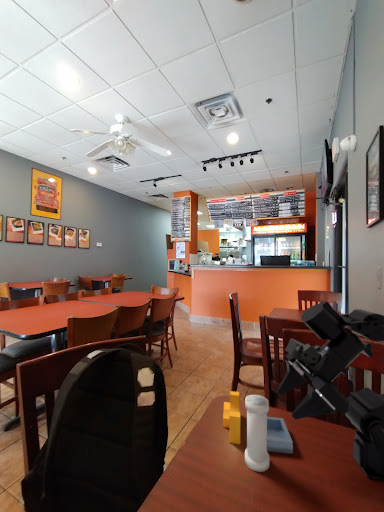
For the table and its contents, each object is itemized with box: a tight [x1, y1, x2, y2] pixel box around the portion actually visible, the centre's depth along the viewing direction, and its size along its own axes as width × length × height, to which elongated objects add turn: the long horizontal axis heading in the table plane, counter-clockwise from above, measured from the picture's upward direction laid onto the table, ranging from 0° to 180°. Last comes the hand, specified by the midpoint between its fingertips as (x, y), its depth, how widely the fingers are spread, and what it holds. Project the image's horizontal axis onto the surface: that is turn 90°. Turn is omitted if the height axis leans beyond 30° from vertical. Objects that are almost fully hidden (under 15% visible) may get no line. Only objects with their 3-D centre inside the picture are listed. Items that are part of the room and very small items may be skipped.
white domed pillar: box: [244, 394, 270, 473], centre depth 53 cm, size 5×5×13 cm
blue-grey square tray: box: [267, 416, 294, 455], centre depth 60 cm, size 9×9×2 cm
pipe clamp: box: [222, 390, 241, 445], centre depth 64 cm, size 12×4×6 cm, turn 170°
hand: (285, 404), depth 53 cm, fingers open, 9 cm apart
